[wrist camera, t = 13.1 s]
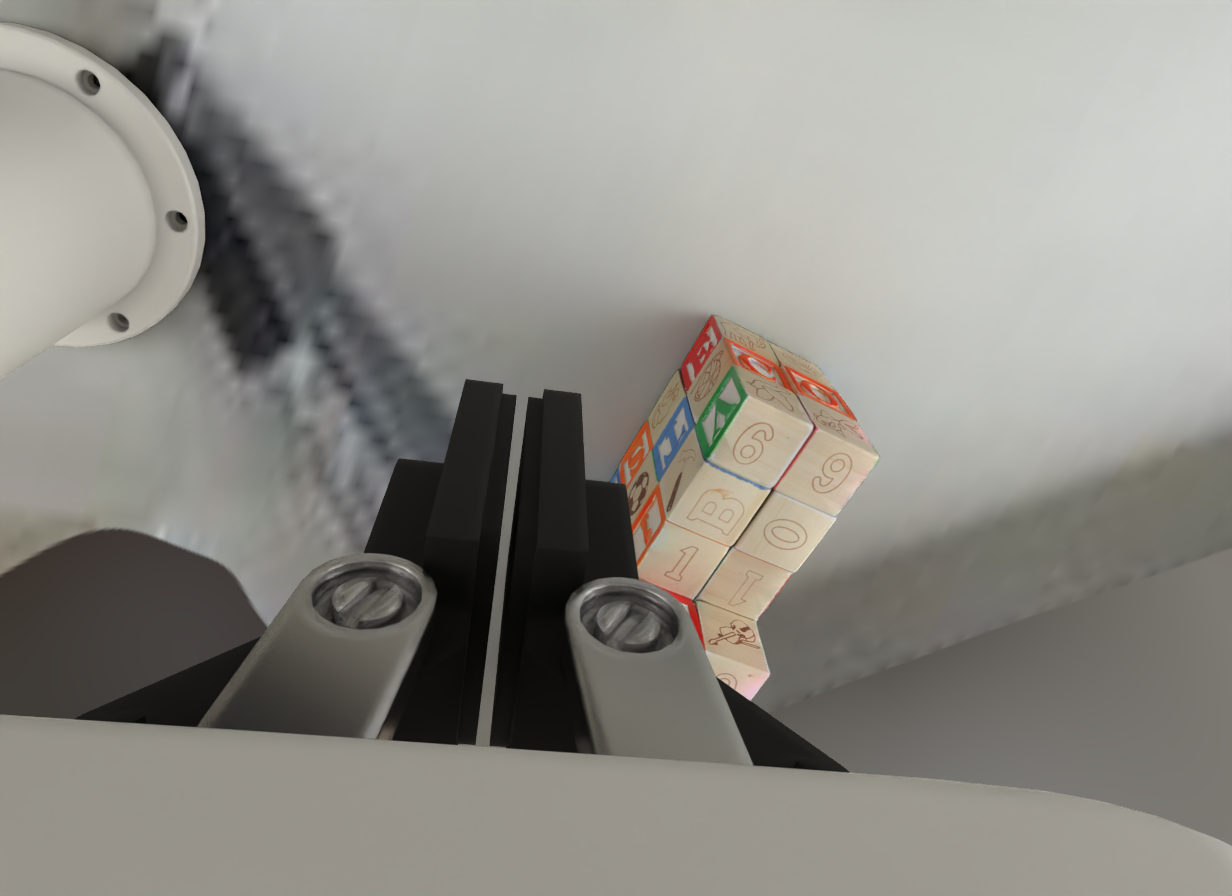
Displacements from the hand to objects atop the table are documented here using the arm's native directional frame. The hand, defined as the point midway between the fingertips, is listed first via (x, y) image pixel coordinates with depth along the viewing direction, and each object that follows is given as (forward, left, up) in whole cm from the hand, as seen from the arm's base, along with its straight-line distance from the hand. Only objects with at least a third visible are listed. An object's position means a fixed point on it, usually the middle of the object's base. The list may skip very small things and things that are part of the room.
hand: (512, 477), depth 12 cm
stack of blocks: (+8, -16, -25) cm, 31 cm away
